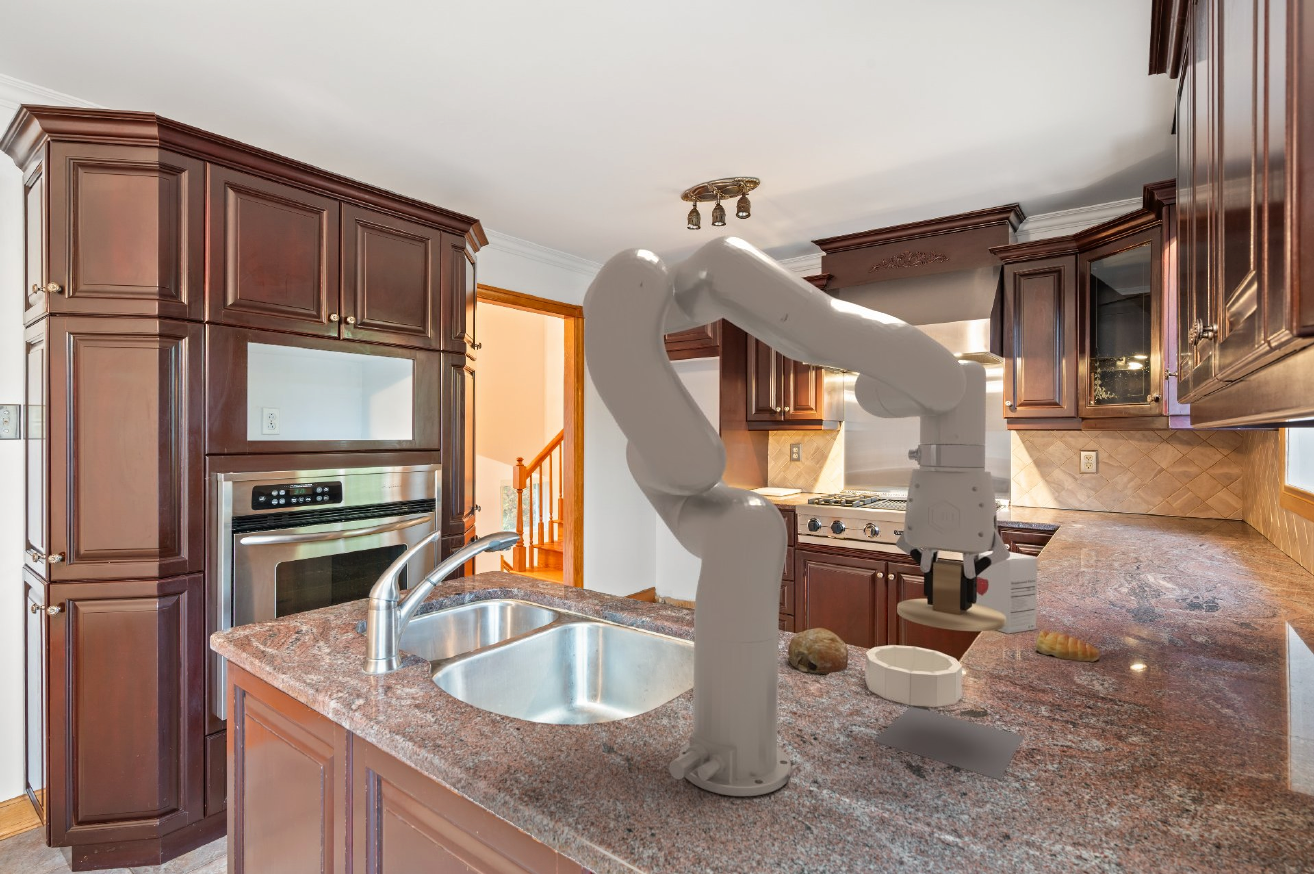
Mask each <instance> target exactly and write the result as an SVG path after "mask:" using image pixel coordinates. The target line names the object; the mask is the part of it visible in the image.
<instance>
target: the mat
mask: <svg viewBox="0 0 1314 874" xmlns="http://www.w3.org/2000/svg"><path fill="white" fill-rule="evenodd" d="M1024 738H1025V735H1021V734H1017V733H1015V732H1014V733H1013V732H1010V731H1008V730H1002V729H999V728H996V727H993V726H992V727H991V726H987V725H983V724H980V723H976V722H972V721H968V720H964V719H961V718H958V717H953V716H950V715H945V714H941V713H938V712H933V711H932V710H926V709H922V708H919V707H916V706H913V705H909V707H908V708H907V709H906V710H905V711H904V712H903V713H901V715H899V717H898V718H896V719H895V720H894V721H893V722H892V723H891V724H890V725H889V726H888V727H887V728H886V729H885V730H884V731H882V732H881V733H880V734H879V735H878V736H877V737H876V738H875V739H874V740H873V742H874V743H876V744H880V745H884V746H887V747H890V748H894V749H897V750H900V751H903V752H906V753H910V754H913V755H916V756H920V757H923V758H927V759H930V760H933V761H935V762H939V763H941V764H946V765H949V766H952V767H955V768H960V769H962V770H966V771H967V772H972V773H974V774H975V773H976V774H978V775H982V776H985V777H988V778H992V779H995V780H998V781H1000V780H1001V779H1002V777H1003V775H1004V773H1005V771H1006V770H1007V768H1008V766H1009V764H1010V763H1011V761H1012V759H1013V757H1014V756H1015V753H1016V752H1017V750H1018V748H1019V747H1020V745H1021V743H1022V741H1023V740H1024Z"/></svg>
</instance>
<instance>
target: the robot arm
mask: <svg viewBox="0 0 1314 874" xmlns="http://www.w3.org/2000/svg"><path fill="white" fill-rule="evenodd" d="M582 301H583V302H582V314H583V318H584V320H585V321H584V327H583V328H584V329H583V330H584V333H583V339H584V340H583V342H584V356H585V361H586V365H587V370H588V373H589V376H590V378H591V381H592V384H593V386H594V388H595V390H596V392H597V393H598V396H599V397H600V399H601V400H602V402H603V404H604V405H605V407H606V408H607V410H608V411H609V413H610V415H611V416H612V418H613V419H614V422H615V423H616V424H617V426H618V427H619V429H620V430H621V432H622V434H623V435H624V436H625V437H626V439H627V442H626V446H625V447H626V448H625V457H626V464H627V467H628V469H629V472H630V474H631V476H632V478H633V479H634V481H635V483H636V484H637V486H638V487H639V489H640V490H641V492H642V493H643V494H644V496H645V497H646V499H647V500H648V501H649V504H650V505H651V506H652V507H653V508H654V510H655V512H656V513H657V514H658V516H659V517H660V519H661V520H662V521H663V522H664V524H665V525H666V526H667V528H668V529H669V531H670V532H671V533H672V535H673V537H675V539H676V540H677V541H678V543H679V544H680V545H681V546H682V547H683V548H684V549H685V550H686V551H687V552H688V553H690V554H691V555H693V556H694V557H696V558H698V559H700V560H701V565H700V572H699V576H698V580H697V586H696V592H695V599H694V600H695V601H694V617H693V620H694V621H693V623H694V625H693V626H694V627H693V628H694V632H693V633H694V643H693V645H694V646H693V649H694V650H693V694H692V696H693V704H692V705H693V706H692V707H693V708H692V733H691V734H690V735H689V738H688V739H689V741H688V742H687V743H686V744H684V746H682V747H681V749H680V751H679V754H678V757H677V758H675V759H673V760H672V761H671V762H670V763H669V768H668V769H669V772H670V775H671V777H673V778H674V779H676V780H677V781H678V780H682V779H683V778H685V779H687V780H688V781H689V783H692V784H693V785H695V786H697V787H699V788H700V789H703V790H705V791H708V792H711V793H714V794H715V793H716V794H719V795H724V796H731V797H754V796H761V795H766V794H769V793H772V792H774V791H777V790H779V789H780V788H782V787H783V786H785V784H787V782H789V780H790V778H791V772H792V763H791V759H790V758H789V756H788V755H787V753H786V752H785V751H784V750H783V749H782V748H781V747H779V746H778V719H779V718H778V717H779V715H778V709H779V704H778V703H779V652H780V651H779V649H780V648H779V642H780V641H779V640H780V639H779V638H780V637H779V627H780V626H779V625H780V624H779V622H780V620H779V619H780V618H779V617H780V601H781V600H780V598H781V597H780V596H781V587H782V578H783V573H784V568H785V563H786V557H787V554H788V553H787V552H788V540H789V539H788V538H789V536H788V530H787V525H786V521H785V519H784V517H783V515H782V513H781V511H780V510H779V508H778V507H777V506H776V504H774V503H773V501H771V500H770V499H769V498H767V497H765V496H764V495H762V494H760V493H757V492H755V491H752V490H749V489H744V488H738V487H734V486H729V485H728V484H727V482H726V481H725V479H724V478H723V476H724V475H725V474H724V473H725V471H726V467H727V452H726V446H725V444H724V442H723V440H722V438H721V436H720V435H719V432H717V430H716V429H715V427H714V426H713V425H712V423H711V422H710V420H709V419H708V417H706V415H705V413H704V411H702V409H701V408H700V406H699V405H698V403H697V401H695V399H694V398H693V396H692V395H691V393H690V392H689V390H688V389H687V387H686V386H685V385H684V383H683V382H682V379H681V378H680V376H679V374H678V373H677V371H676V369H675V368H674V366H673V364H672V362H671V361H670V358H669V356H668V353H667V350H666V344H665V337H664V336H666V335H669V334H674V333H679V332H680V333H681V332H684V331H688V330H691V329H695V328H698V327H701V326H702V327H703V326H704V325H705V326H706V325H708V324H711V323H715V322H716V321H719V320H722V319H725V320H726V321H728V322H730V323H732V324H733V325H734V326H736V327H737V328H740V329H741V330H743V331H744V332H746V333H748V334H749V335H751V336H753V338H755V339H757V340H759V341H760V342H762V343H763V344H766V345H767V346H768V347H770V348H771V349H773V350H774V351H776V352H778V353H779V354H781V355H782V356H784V357H786V358H788V359H790V360H794V361H797V362H801V363H804V364H809V365H814V366H821V367H822V366H823V367H831V368H833V367H834V368H838V369H843V370H847V371H851V372H855V373H858V376H857V378H856V380H855V383H854V396H855V399H856V401H857V403H858V405H859V406H860V407H861V409H863V410H864V411H865V412H866V413H868V414H870V415H872V416H875V417H877V418H881V419H901V418H903V419H904V418H905V419H906V418H911V417H912V418H913V417H914V418H916V417H919V423H920V424H919V444H917V445H918V446H917V448H915V449H909V450H908V455H907V456H908V460H913V461H916V462H917V465H918V466H919V468H915V469H912V471H911V474H910V480H909V484H908V488H907V489H908V490H907V496H906V503H905V504H906V506H905V516H904V527H903V528H904V529H903V531H902V533H901V534H900V536H898V539H897V540H896V543H895V546H896V547H897V548H898V549H900V550H901V551H903V552H904V553H906V555H908V556H910V557H911V558H912V559H913V561H914V562H915V563H916V564H917V565H918V566H919V567H920V568H919V569H920V571H921V572H923V596H924V597H927V598H926V599H927V604H928V605H933V563H934V562H936V561H939V560H938V559H939V553H940V551H942V552H951V553H960V554H962V562H963V563H964V572H963V577H962V578H961V581H960V609H961V610H964V611H967V610H968V609H970V608H971V607H972V603H973V604H975V603H976V601H977V576H978V575H979V574H980V573H982V572H983V571H984V570H985V569H987V568H988V567H989V566H991V565H993V564H996V563H999V562H1001V561H1004V560H1006V559H1008V558H1009V557H1010V553H1009V552H1010V551H1009V550H1008V548H1007V546H1006V545H1005V543H1004V541H1003V539H1002V537H1001V536H1000V534H999V532H998V514H997V506H996V505H997V502H996V495H995V487H994V482H993V477H992V473H991V471H986V430H987V429H986V427H987V426H986V421H987V420H986V417H987V415H986V414H987V412H986V411H987V405H986V404H987V373H986V368H985V366H984V365H983V364H982V363H980V362H979V361H977V360H969V359H958V358H957V357H956V356H955V355H954V353H952V351H950V350H949V349H948V348H947V347H945V346H944V345H943V344H941V343H940V342H938V341H937V340H936V339H934V338H932V337H931V336H930V335H928V334H927V333H925V332H923V331H922V330H921V329H919V328H917V327H916V326H914V325H912V324H910V323H908V322H906V321H904V320H902V319H900V318H897V317H896V316H895V317H894V316H892V315H889V314H887V313H883V312H880V311H877V310H875V309H871V308H868V307H864V306H862V305H859V304H857V303H853V302H851V301H850V302H849V301H845V300H843V299H842V300H841V299H838V298H836V297H833V296H831V295H829V294H828V293H826V292H824V291H823V290H821V289H819V288H818V287H816V286H815V285H814V284H812V283H811V282H809V281H808V280H806V279H804V278H802V276H800V275H798V274H797V273H795V272H794V271H792V270H791V269H789V268H788V267H787V266H785V265H783V264H782V263H781V262H779V261H778V260H776V259H775V258H773V257H772V256H770V255H768V254H767V253H766V252H764V251H762V250H761V249H760V248H759V247H757V246H755V245H753V244H752V243H750V242H748V241H747V240H745V239H743V238H741V237H737V236H734V235H724V236H719V237H716V238H713V239H711V240H710V241H708V242H706V243H705V244H703V245H702V246H701V247H700V248H698V249H697V250H696V251H695V252H694V253H693V254H691V255H690V256H689V257H688V258H686V259H683V260H680V261H677V262H674V263H673V262H672V263H669V264H666V263H665V262H664V260H662V258H661V257H660V256H658V255H657V254H656V253H654V252H653V251H651V250H649V249H646V248H641V247H632V248H627V249H624V250H622V251H620V252H617V253H616V254H615V255H613V256H612V257H611V258H609V259H608V260H607V261H606V263H605V264H604V265H603V266H602V267H601V268H600V270H599V271H598V273H597V274H596V276H595V277H594V279H593V280H592V282H591V283H590V284H589V286H588V288H587V289H586V292H585V294H584V297H583V300H582ZM991 550H992V551H993V552H992V554H989V555H987V556H984V557H982V558H981V559H980V558H979V554H981V553H984V552H986V551H991Z"/></svg>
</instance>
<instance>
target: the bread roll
mask: <svg viewBox="0 0 1314 874" xmlns="http://www.w3.org/2000/svg"><path fill="white" fill-rule="evenodd" d="M787 653H788V660H789V662H790V663H791V665H792V666H793V667H794V668H795V669H797V670H799V671H800V672H802V673H809V674H814V675H825V676H827V675H829V674H831V673H835V672H837V673H838V672H842V671H844V670H846V669H847V668H848V660H849V657H848V656H849V650H848V647H847V644H846V643H845V642H844V640H842V639H841V638H840V637H839V636H838V635H837V634H836V633H834V632H833V631H831V630H829V629H826V628H823V627H815V628H811V629H806V630H804V631H801V632H798V633H796V634H795V635H794V636H793V637H792V638H791V640H790V641H789V645H788V650H787Z"/></svg>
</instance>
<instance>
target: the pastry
mask: <svg viewBox="0 0 1314 874" xmlns="http://www.w3.org/2000/svg"><path fill="white" fill-rule="evenodd" d="M1038 633H1039V634H1038V636H1037V640H1036V644H1035V650H1036V651H1037V652H1039V653H1040V654H1042V655H1046V656H1049V655H1052V656H1054V658H1059V659H1065V660H1069V661H1076V662H1085V663H1086V662H1091V663H1093V662H1095V661H1097V660H1099V655H1100V651H1099V649H1097V648H1096V647H1094V646H1093V645H1092V644H1090V643H1087V642H1084V641H1082V640H1080V639H1078V638H1075V637H1074V636H1073V637H1072V636H1070V635H1068V634H1066V633H1059V632H1049V631H1047V630H1045V629H1042V630H1040V631H1039V632H1038Z"/></svg>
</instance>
